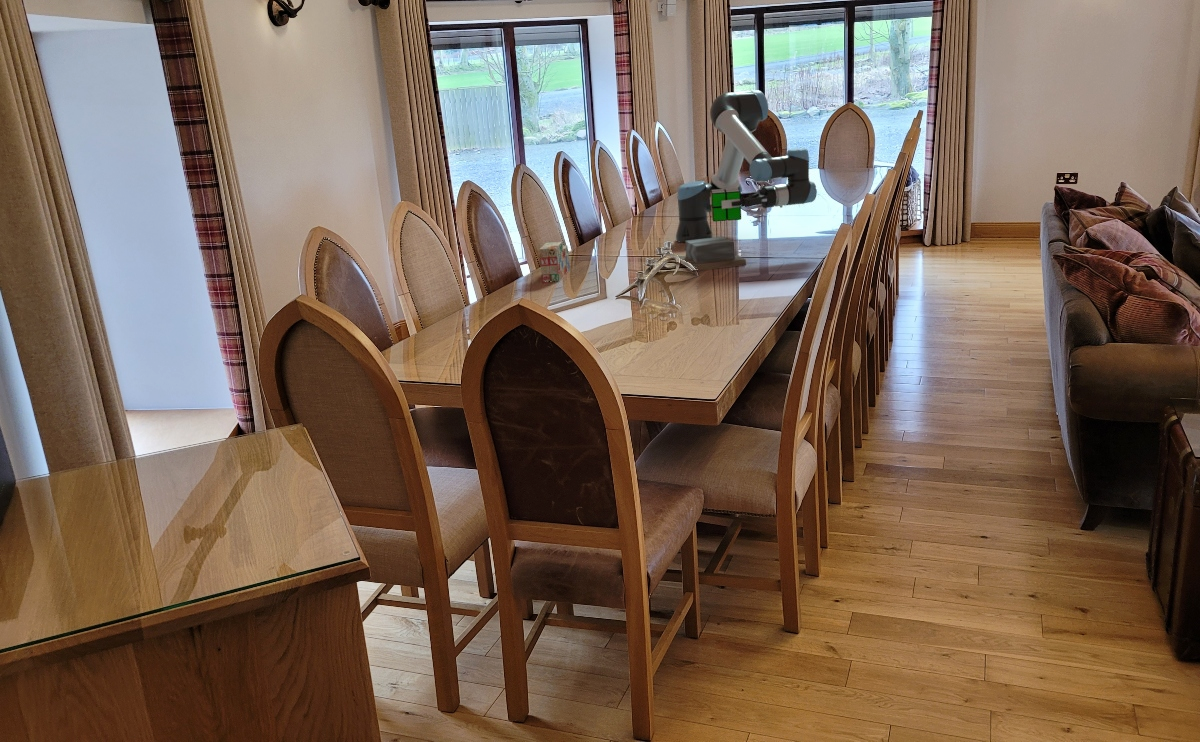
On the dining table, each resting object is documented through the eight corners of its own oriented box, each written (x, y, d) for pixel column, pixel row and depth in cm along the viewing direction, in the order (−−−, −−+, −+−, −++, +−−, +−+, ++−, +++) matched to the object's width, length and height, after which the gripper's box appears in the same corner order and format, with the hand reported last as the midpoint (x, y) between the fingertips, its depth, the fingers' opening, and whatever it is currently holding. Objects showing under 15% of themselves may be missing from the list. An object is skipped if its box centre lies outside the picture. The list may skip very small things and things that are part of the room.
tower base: (676, 261, 345) (675, 240, 343) (728, 255, 348) (727, 234, 346) (691, 271, 326) (690, 248, 324) (745, 264, 329) (745, 242, 327)
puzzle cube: (739, 215, 337) (738, 187, 334) (741, 219, 328) (740, 191, 325) (711, 217, 338) (710, 189, 335) (712, 221, 328) (711, 193, 325)
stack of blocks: (553, 270, 350) (550, 238, 346) (570, 269, 349) (567, 237, 345) (542, 282, 329) (538, 248, 326) (559, 282, 328) (556, 247, 325)
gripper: (787, 210, 324) (728, 217, 320) (761, 203, 347) (705, 209, 343) (786, 189, 322) (727, 195, 318) (760, 182, 344) (704, 188, 341)
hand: (715, 202), depth 330 cm, fingers closed on puzzle cube, 12 cm apart
